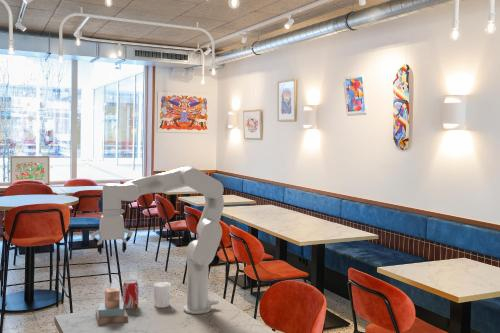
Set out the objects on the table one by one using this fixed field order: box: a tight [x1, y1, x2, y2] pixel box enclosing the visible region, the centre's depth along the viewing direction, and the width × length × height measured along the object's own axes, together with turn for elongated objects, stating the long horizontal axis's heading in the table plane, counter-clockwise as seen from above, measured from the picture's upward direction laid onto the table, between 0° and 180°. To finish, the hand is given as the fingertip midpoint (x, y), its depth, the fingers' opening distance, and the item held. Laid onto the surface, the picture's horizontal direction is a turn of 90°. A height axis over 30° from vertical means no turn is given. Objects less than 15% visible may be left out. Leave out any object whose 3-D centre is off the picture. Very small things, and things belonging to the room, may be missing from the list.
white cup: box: [153, 281, 172, 309], centre depth 241 cm, size 8×8×10 cm
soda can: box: [122, 279, 140, 310], centre depth 238 cm, size 7×7×12 cm
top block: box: [97, 301, 125, 317], centre depth 223 cm, size 10×10×3 cm
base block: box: [95, 307, 129, 325], centre depth 223 cm, size 12×12×3 cm
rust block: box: [104, 287, 121, 308], centre depth 223 cm, size 5×5×7 cm
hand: (112, 252), depth 222 cm, fingers open, 9 cm apart
